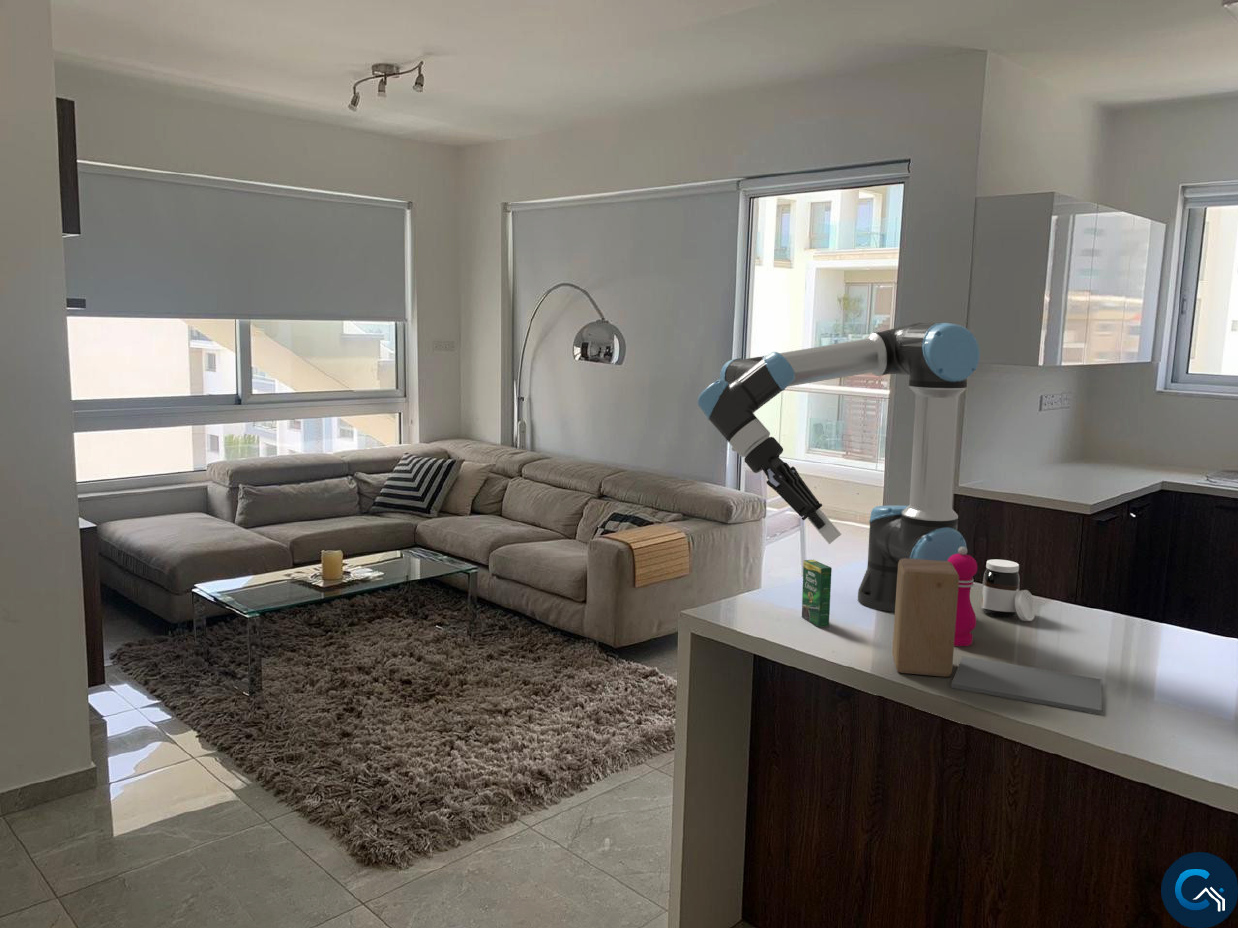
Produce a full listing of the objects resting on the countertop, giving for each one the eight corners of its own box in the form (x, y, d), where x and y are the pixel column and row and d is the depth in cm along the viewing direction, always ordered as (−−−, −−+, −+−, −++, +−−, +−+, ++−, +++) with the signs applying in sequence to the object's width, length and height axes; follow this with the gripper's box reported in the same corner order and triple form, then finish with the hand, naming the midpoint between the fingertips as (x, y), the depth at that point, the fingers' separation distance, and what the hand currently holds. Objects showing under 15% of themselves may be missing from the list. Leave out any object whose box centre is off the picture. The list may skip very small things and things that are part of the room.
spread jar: (980, 604, 219) (984, 556, 218) (1033, 610, 215) (1037, 561, 214) (980, 619, 208) (984, 568, 207) (1035, 626, 204) (1040, 574, 203)
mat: (962, 659, 182) (962, 655, 182) (1100, 682, 172) (1100, 678, 172) (951, 687, 168) (951, 683, 168) (1101, 714, 158) (1101, 710, 158)
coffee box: (799, 616, 208) (802, 558, 206) (811, 615, 208) (814, 558, 206) (817, 628, 200) (820, 568, 198) (829, 627, 201) (832, 567, 199)
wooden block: (952, 679, 172) (960, 573, 169) (895, 674, 174) (902, 569, 171) (944, 660, 182) (952, 560, 179) (891, 655, 184) (898, 556, 181)
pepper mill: (936, 644, 191) (943, 548, 188) (938, 633, 198) (945, 541, 195) (974, 649, 189) (981, 552, 186) (974, 638, 195) (982, 544, 192)
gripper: (754, 455, 194) (829, 544, 189) (732, 463, 183) (812, 557, 178) (780, 431, 191) (857, 521, 186) (760, 438, 180) (841, 533, 175)
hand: (835, 539), depth 182 cm, fingers closed
